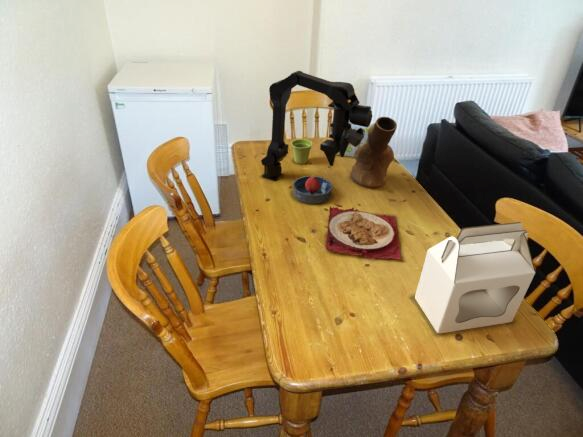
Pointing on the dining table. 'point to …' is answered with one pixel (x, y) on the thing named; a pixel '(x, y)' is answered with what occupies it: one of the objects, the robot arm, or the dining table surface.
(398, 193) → the dining table surface
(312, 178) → the onion
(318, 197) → the bowl
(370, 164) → the ceramic vessel
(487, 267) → the gable box
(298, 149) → the plant pot
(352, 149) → the snack box
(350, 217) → the plate with food
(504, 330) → the dining table surface
